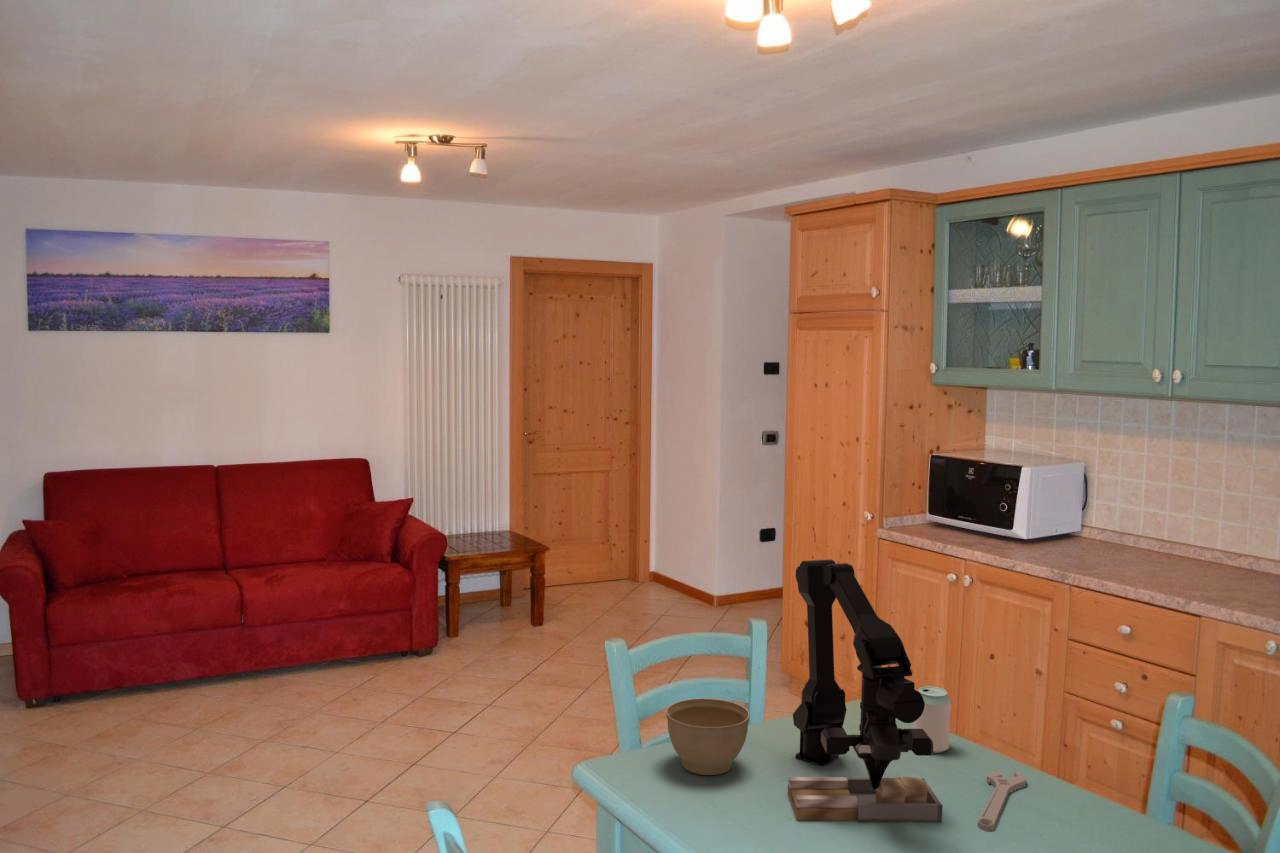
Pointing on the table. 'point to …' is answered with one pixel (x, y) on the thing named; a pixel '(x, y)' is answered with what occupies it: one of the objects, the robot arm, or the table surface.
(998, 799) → the adjustable wrench
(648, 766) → the table surface
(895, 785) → the brown wooden cube
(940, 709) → the can
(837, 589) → the robot arm
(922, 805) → the tray
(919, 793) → the light brown cube
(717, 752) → the planter bowl
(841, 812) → the slot board
